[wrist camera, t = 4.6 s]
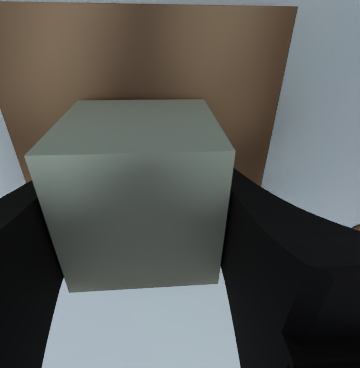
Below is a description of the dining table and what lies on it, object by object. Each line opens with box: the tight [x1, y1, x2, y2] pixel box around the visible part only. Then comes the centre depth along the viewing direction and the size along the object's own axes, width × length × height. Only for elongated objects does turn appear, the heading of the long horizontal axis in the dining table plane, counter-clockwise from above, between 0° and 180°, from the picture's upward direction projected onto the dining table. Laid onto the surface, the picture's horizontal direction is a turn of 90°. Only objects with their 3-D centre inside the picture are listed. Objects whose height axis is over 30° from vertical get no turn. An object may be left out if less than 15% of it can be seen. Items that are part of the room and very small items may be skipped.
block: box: [24, 99, 236, 293], centre depth 10 cm, size 5×5×5 cm
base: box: [0, 1, 298, 187], centre depth 14 cm, size 12×12×2 cm
